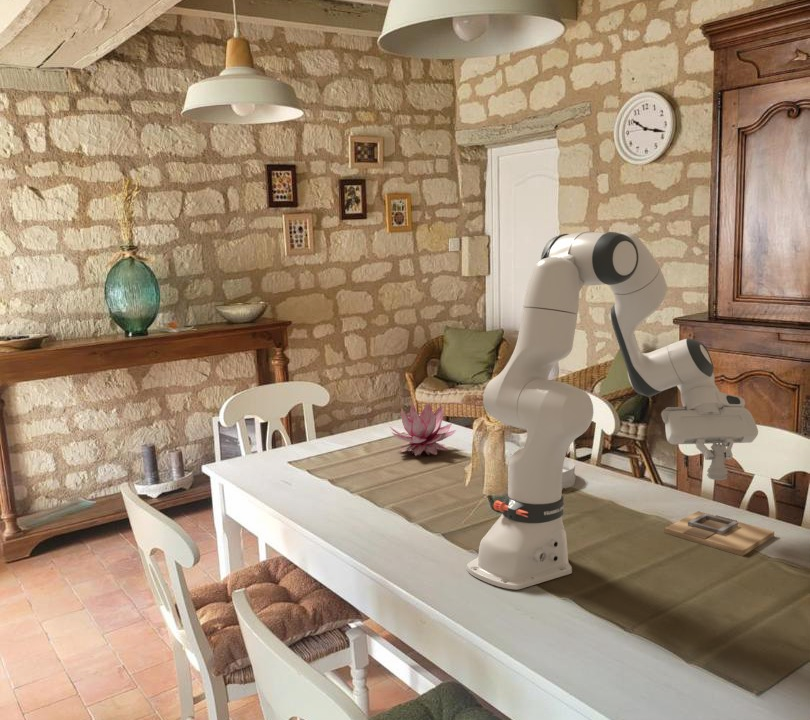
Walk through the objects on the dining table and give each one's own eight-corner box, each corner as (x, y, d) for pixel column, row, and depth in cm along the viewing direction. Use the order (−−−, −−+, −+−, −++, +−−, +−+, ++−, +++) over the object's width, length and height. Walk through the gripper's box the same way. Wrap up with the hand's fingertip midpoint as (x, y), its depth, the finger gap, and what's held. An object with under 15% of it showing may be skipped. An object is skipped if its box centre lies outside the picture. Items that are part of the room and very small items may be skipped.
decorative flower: (385, 445, 250) (384, 402, 248) (446, 442, 254) (446, 399, 252) (395, 463, 229) (395, 415, 227) (462, 459, 233) (463, 412, 231)
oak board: (742, 556, 158) (743, 546, 158) (664, 532, 171) (664, 523, 171) (774, 536, 168) (774, 527, 168) (698, 516, 182) (698, 507, 181)
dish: (576, 494, 199) (576, 476, 199) (493, 490, 204) (493, 472, 203) (574, 470, 221) (574, 454, 220) (499, 467, 225) (499, 451, 225)
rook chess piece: (709, 473, 172) (711, 439, 170) (730, 476, 169) (731, 442, 168) (703, 478, 168) (705, 444, 167) (724, 482, 166) (726, 447, 164)
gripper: (663, 400, 173) (677, 452, 165) (750, 398, 173) (769, 450, 165) (655, 414, 178) (669, 466, 170) (740, 412, 178) (758, 463, 170)
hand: (719, 458), depth 167 cm, fingers closed on rook chess piece, 3 cm apart
